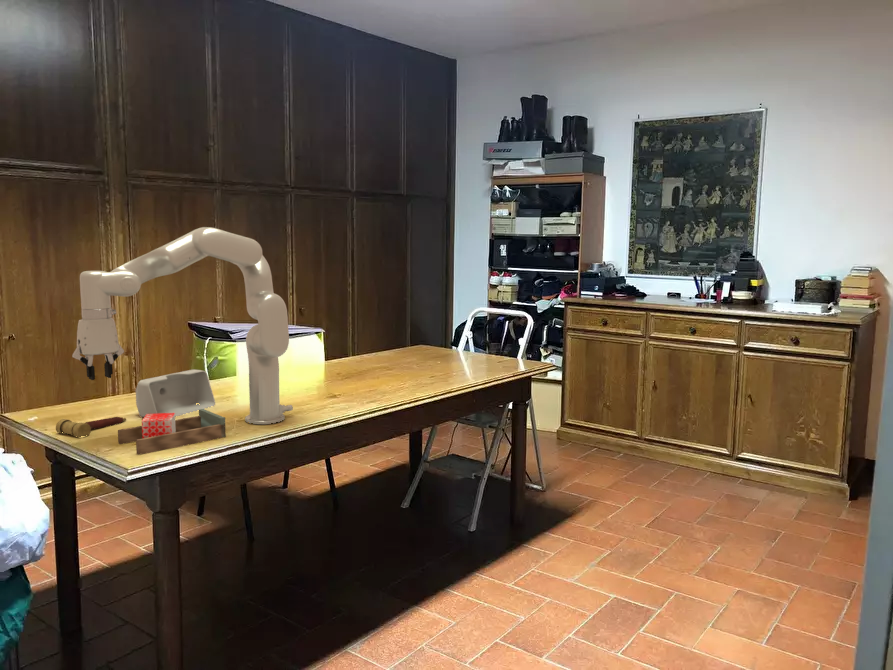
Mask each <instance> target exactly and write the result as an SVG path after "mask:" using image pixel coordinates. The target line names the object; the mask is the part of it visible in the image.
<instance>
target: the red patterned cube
mask: <svg viewBox="0 0 893 670" xmlns="http://www.w3.org/2000/svg"><path fill="white" fill-rule="evenodd" d="M175 420H176V417H175V413H157V414H146V415H145V417H142V420H141V426H142V438H148V437H153V436H158V435H164V434H169V433H175V432H176V427H175Z"/></svg>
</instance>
